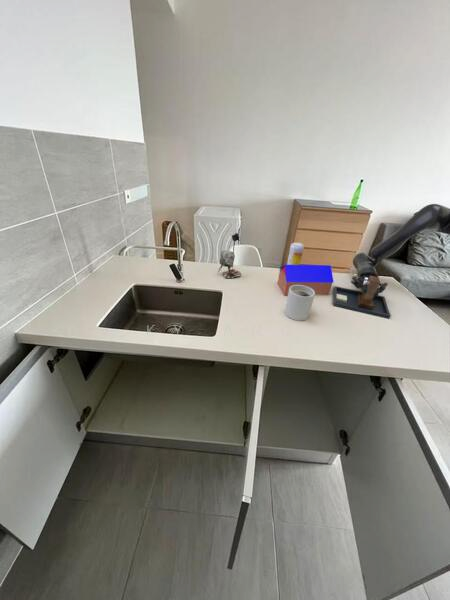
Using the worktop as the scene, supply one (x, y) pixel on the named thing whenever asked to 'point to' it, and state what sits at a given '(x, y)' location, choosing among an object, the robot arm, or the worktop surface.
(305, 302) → the mug
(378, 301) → the tray
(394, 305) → the worktop surface
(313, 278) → the blue-topped block
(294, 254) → the white capped yellow bottle
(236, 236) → the bird figurine
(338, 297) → the paper scrap
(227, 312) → the worktop surface
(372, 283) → the brown post on base
